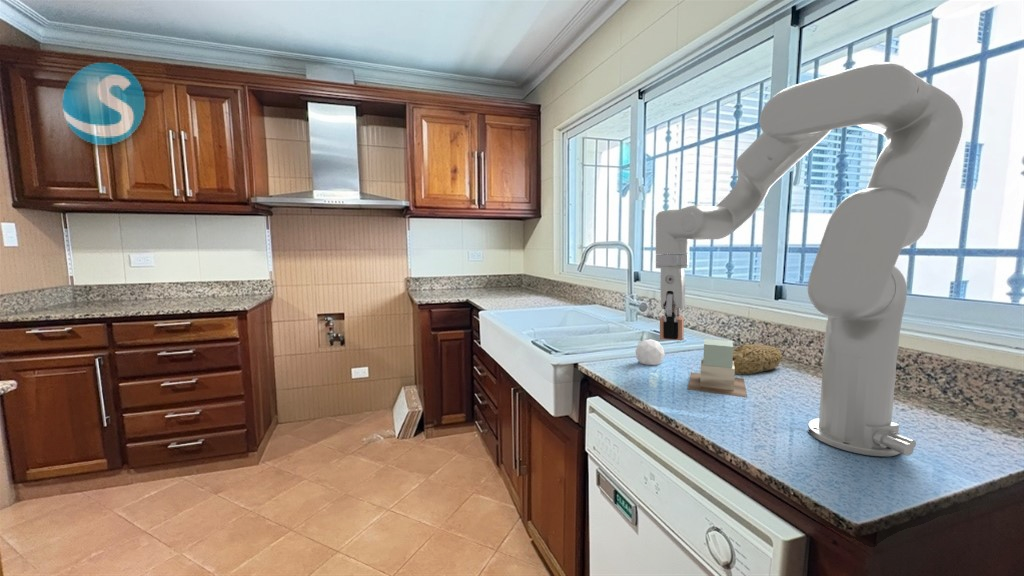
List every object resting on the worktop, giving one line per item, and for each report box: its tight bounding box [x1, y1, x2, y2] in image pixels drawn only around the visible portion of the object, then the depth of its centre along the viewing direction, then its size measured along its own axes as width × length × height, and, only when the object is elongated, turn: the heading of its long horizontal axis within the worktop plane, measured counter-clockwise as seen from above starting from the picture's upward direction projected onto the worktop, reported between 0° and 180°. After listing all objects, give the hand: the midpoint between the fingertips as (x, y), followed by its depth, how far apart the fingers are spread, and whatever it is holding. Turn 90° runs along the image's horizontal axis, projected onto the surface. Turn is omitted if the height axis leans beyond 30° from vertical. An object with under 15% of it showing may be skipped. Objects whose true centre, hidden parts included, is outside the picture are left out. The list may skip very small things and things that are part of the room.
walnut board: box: [687, 371, 748, 399], centre depth 97 cm, size 14×12×1 cm
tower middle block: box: [702, 338, 734, 368], centre depth 96 cm, size 6×6×5 cm
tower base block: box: [700, 357, 736, 391], centre depth 97 cm, size 7×7×5 cm
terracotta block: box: [659, 315, 685, 341], centre depth 100 cm, size 5×5×5 cm
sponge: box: [733, 344, 783, 375], centre depth 111 cm, size 13×8×20 cm
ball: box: [635, 339, 665, 366], centre depth 115 cm, size 8×8×8 cm
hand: (671, 335), depth 100 cm, fingers closed on terracotta block, 5 cm apart
